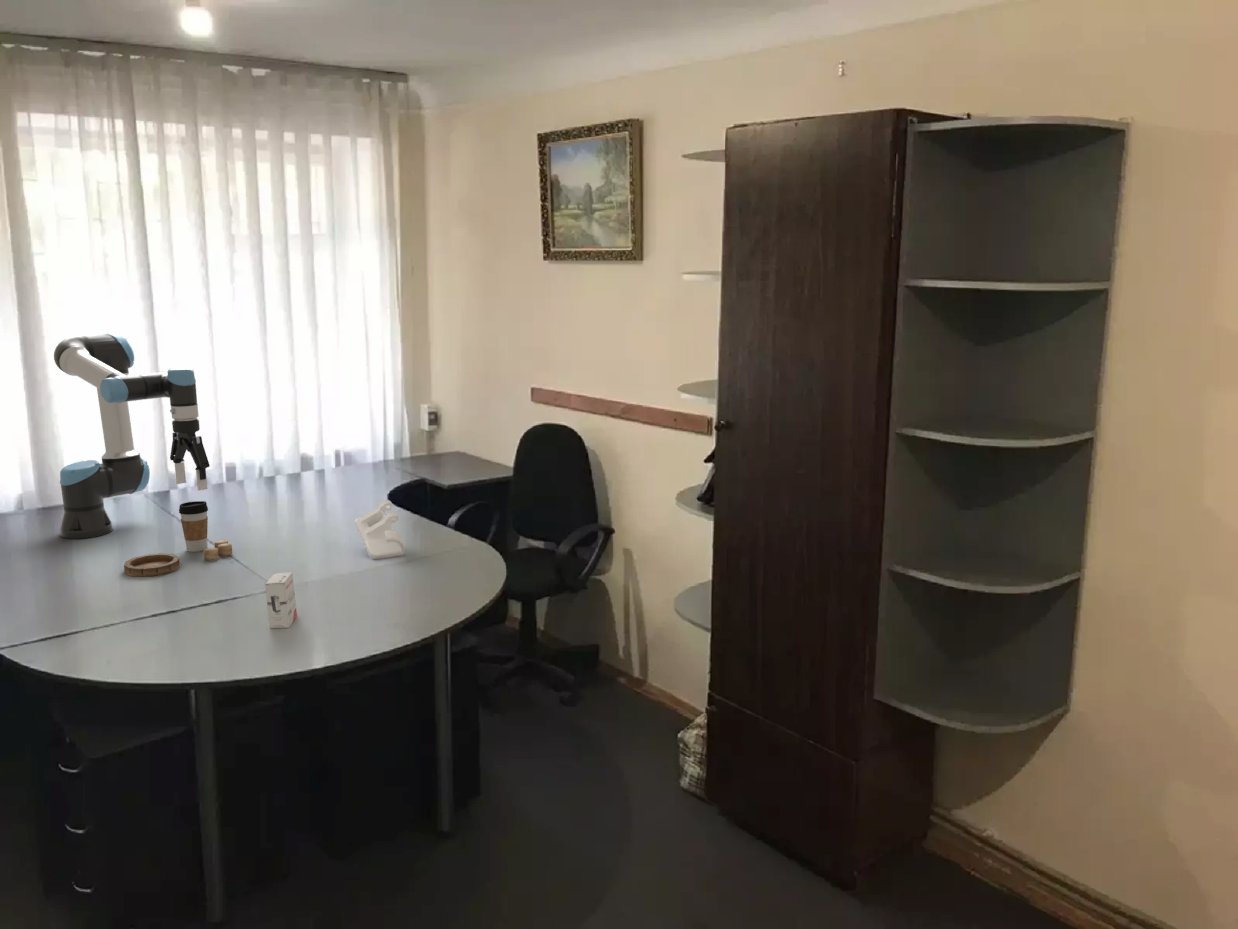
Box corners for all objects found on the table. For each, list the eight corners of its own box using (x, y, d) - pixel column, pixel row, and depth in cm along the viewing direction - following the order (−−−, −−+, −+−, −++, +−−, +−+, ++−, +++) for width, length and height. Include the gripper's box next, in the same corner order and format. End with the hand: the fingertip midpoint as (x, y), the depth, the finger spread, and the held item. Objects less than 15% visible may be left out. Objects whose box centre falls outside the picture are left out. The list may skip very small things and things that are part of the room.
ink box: (277, 616, 247) (273, 572, 244) (297, 615, 247) (294, 571, 245) (268, 629, 238) (264, 583, 236) (288, 628, 239) (285, 583, 236)
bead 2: (212, 551, 300) (211, 542, 300) (224, 548, 303) (224, 539, 303) (219, 554, 298) (218, 544, 297) (231, 551, 301) (230, 542, 300)
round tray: (115, 569, 283) (114, 561, 282) (166, 557, 294) (165, 550, 293) (138, 580, 273) (137, 572, 273) (189, 567, 284) (189, 560, 284)
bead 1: (202, 559, 293) (201, 549, 292) (214, 556, 296) (213, 547, 295) (208, 562, 290) (207, 552, 290) (221, 558, 293) (220, 549, 293)
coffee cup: (200, 553, 298) (196, 507, 295) (176, 552, 299) (172, 505, 296) (217, 546, 306) (213, 500, 303) (193, 544, 307) (189, 498, 304)
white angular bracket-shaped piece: (405, 567, 302) (410, 536, 294) (369, 573, 296) (373, 541, 289) (385, 525, 315) (389, 495, 307) (350, 530, 309) (354, 499, 301)
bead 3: (216, 554, 297) (215, 545, 296) (228, 552, 300) (227, 542, 299) (222, 557, 295) (221, 548, 294) (235, 554, 298) (234, 545, 297)
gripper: (154, 416, 299) (161, 482, 303) (193, 424, 283) (199, 494, 287) (177, 413, 304) (184, 478, 309) (217, 421, 289) (223, 490, 293)
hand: (191, 486), depth 298 cm, fingers open, 13 cm apart
